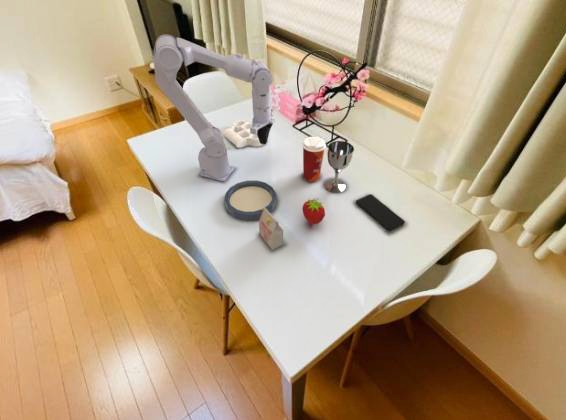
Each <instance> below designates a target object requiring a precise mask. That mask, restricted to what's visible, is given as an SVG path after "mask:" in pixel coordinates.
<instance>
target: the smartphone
mask: <svg viewBox="0 0 566 420" xmlns="http://www.w3.org/2000/svg"><path fill="white" fill-rule="evenodd" d="M355 204H357V206H358V207H360V208H361V209H362V210H363V211H364V212H366V213H367V214H368V215H369V216H370V217H371V218H372V219H374V220H375V221H376V222H377V223H378V224H379V225H380V226H382V227H383V228H384V229H385V230H386V231H388V232H391V231H393V230H395V229H397V228H398V227H400V226H403V225H404V224H405V222H406V221H405V220H404V219H403V218H402V217H400V216H399V215H398V214H397V213H395V212H394V211H393V210H392V209H390V208H389V207H388V206H387V205H386V204H384V203H383V202H382V201H381V200H380V199H378V198H377V197H375V196H374V195H373V194H367V195H365V196H363V197H360V198H358V199H357V200H355Z"/></svg>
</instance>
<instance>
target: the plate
mask: <svg viewBox="0 0 566 420" xmlns="http://www.w3.org/2000/svg"><path fill="white" fill-rule="evenodd" d="M223 200H224V201H223V202H224V205H225V209H226V211H227V212H228V214H229V215H230V216H232V217H234V218H236V219H239V220H242V221H257V220H259V219H260V216H261V214H262V211H263V207H264V208H266V209H267V210H268V212H269V213H270V214H272V212H273V211H274V210H275V208H276V207H277V192H276V191H275V188H273V186H272V185H270V184H269V183H267V182H264V181H259V180H254V179H253V180H244V181H240V182H237V183H235V184H234V185H232V186H230V187H229V188H228V190H227V191H226V192H225V194H224V199H223Z"/></svg>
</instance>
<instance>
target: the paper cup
mask: <svg viewBox="0 0 566 420" xmlns="http://www.w3.org/2000/svg"><path fill="white" fill-rule="evenodd" d="M301 146H302V155H303V156H302V161H303V162H302V168H303V169H302V170H303V171H302V172H303V173H302V175H303V179H304V180H306V181H308V182H317V181H318V180H319V179H320V176H321V171H322V166H323V160H324V154H325V149H326V148H327V144H326V141H325V140H324V139H323V138H321V137H320V136H308V137H306V138H304V140H303V142H302V144H301Z"/></svg>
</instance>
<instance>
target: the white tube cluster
mask: <svg viewBox="0 0 566 420" xmlns="http://www.w3.org/2000/svg"><path fill="white" fill-rule="evenodd" d="M251 126H252V122H247V121H246V120H245V119H239V120H238V119H237V120H235V121H234V122H233V123H232V126H230V127H228V128H226V129H224V130H223V131H221V133H222V137H225V138H226V139H227V140H229V142H231V143H232V144H233V145H235V147H236V148H239V149H240V148H244V147H247V146H251V147H257V148H258V147H261V146H264V144H260V142H259V139H258V136H257V134H256V135H255V134H251V133H250V128H251Z"/></svg>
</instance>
